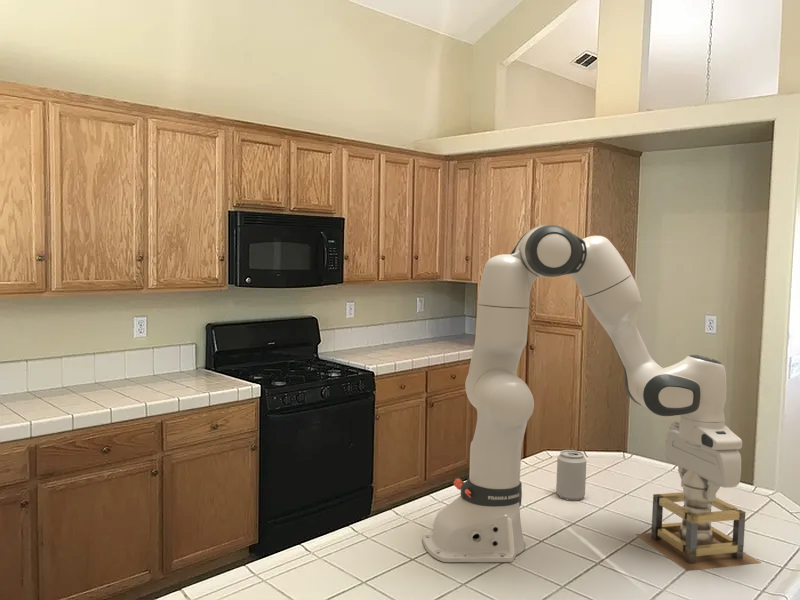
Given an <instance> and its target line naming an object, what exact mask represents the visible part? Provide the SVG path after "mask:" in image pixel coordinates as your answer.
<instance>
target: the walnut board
mask: <svg viewBox="0 0 800 600" xmlns="http://www.w3.org/2000/svg"><path fill="white" fill-rule="evenodd" d="M672 534H673V535H675V536H677V537H678V538H680V536H679V532H675V533H672ZM634 535H635V536H636V537H638V538H639V539H641V540H642V541H644V542H645V543H647V544H648V545H649V546H651V547H652V548H653V549H654V550H657V551H658V552H659V553H660V554H662V555H664V556H665V557H666V558H667V559H670V560H671V561H672V562H674V563H675V564H676V565H677V566H679V567H680V568H682V569H684V570H685V571H686V572H689V571H698V570H701V571H702V570H708V569H718V568H720V569H721V568H728V567H737V566H738V567H739V566H745V565H757V564H758V565H759V564H762V562H761V561H759V560H758V559H756V558H754V557H752V556H751V555H750V554H748V553H746V552H744V551H743V559H736V558H734V557H732V553H724V554H714V555H704V556H696V563H695V564H689V563H687V562H686V561H685V552H682V551H680V550H679V549H677V548H676V547H674V546H673V545H671V544H670V543H668V542H667V541H665V540H664V539H662V538H661V540H658V541H655V540H653V539H652V538H651V532H647V533H635V534H634ZM720 543H721V542H719V541H717V540H716V539H714V538H713V541H712V544H720Z"/></svg>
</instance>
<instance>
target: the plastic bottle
mask: <svg viewBox="0 0 800 600" xmlns="http://www.w3.org/2000/svg"><path fill="white" fill-rule="evenodd" d="M682 483H683V487H682V492H683V493H684V501H683V508H685V509H687V510H688V511H690V512H691V513H704V512H712V507H713V506H712V501H708V500H706V499H705V498H704V491H707V490H708V488H709V486H710V485H708V480H707V479H705V478H703V477H700V476H698V475H697V474H696V473H695V472H694V471H692V470H687V472H686V473H685V474H684V476H683V479H682ZM681 522H682V524H681V527H680V532H679V536H680V539H681V540H683V541H684V542H686V527H687V519H685V520H684V519H683V518H681ZM711 526H712V522H706V523H698V531H697V546H699V545H709V544H712V541H713V535H712V529H711Z"/></svg>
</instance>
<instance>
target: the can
mask: <svg viewBox="0 0 800 600" xmlns="http://www.w3.org/2000/svg"><path fill="white" fill-rule="evenodd" d="M556 463H557V464H556V465H557V466H556V483H555V484H556V485H555V486H556V487H555V488H556V489H555V493H556V494H557V495H558V496H559V497H560V498H561V499H563V498H564V499H563V500H566V499H568V500H567V501H579V500H578V499H580V500H581V499H582V498H584V497H585V496H586V482H587V481H586V480H587V479H586V477H587V476H586V474H587V458H586V457H585V453H584V452H582V451H580V450H579V451H578V450H575V449H564V450H561V451H560V452H559V455H558V456H557V460H556Z"/></svg>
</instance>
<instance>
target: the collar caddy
mask: <svg viewBox="0 0 800 600" xmlns="http://www.w3.org/2000/svg"><path fill="white" fill-rule="evenodd" d="M652 497H653V498H652V515H651V532H650V533H651V538H652V539H653V540H655V541H658V540H661V538H662V539H664V540H665V541H667V542H668V543H670V544H671V545H673V546H674V547H676V548H677V549H679V550H680V551H682V552H685V561H686V562H687V563H689V564H695V563H696V556H704V555H714V554H724V553H732V557H734V558H736V559H743V552H744V544H745V542H744V541H745V529H746V528H745V527H746V511H744V510H743V509H738V507H736V506H734V505H733V504H730V503H728V502H726V501H725V500H722V499H720V498H718V497H716V499H715V501H712V507H714V508H716V509H718V511H711V512H704V513H691V512H690V511H688V510H687V509H685V508H684V506H681V505H679V504H678V503H681V502H684V493H683V491H682V492H681V491H680V492H668V493H655V494H653V495H652ZM663 508H664V509H666V510H667V511H669V512H671V513H672V514H675V516H678V517H679V518H681V519H684V520H685V519H687V527H686V542H684V541H683V540H681V539H680V538H678V537H677V536H675V535H673V534H672V533H675V532H680V527H681V524H682V521H680V522H673V523H671V522H670V523H663V513H664V512H663V510H664V509H663ZM719 510H720V511H719ZM727 521H728V522H729V521H733V525H732V526H733V527H732V536H729V535H728V534H726V533H724V532H722V531H720V530H718V529H717V528H715V527H714V526H712V525H711V529H712V535H713V538H714V539H716V540H717V541H719V542H721V543H720V544H709V545H699V546H697V531H698V523H706V522H711V523H716V522H718V523H719V522H727Z"/></svg>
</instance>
